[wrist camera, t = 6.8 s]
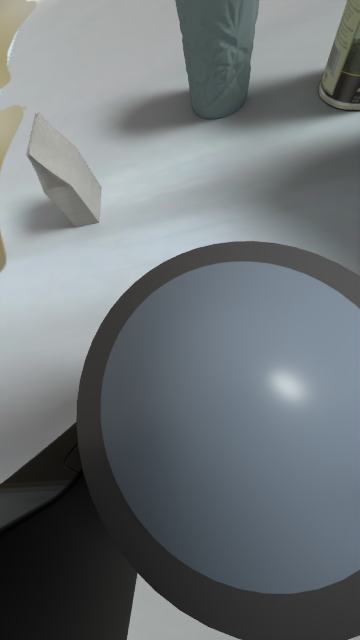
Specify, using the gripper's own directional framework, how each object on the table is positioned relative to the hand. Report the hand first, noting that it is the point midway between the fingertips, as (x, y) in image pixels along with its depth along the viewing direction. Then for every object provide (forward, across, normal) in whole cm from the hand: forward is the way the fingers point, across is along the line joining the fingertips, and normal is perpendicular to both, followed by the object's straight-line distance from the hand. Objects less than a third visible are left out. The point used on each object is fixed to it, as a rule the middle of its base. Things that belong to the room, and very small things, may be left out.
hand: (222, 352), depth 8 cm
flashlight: (+4, 0, +6) cm, 7 cm away
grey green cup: (+39, -6, -20) cm, 44 cm away
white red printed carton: (+28, +16, -10) cm, 33 cm away
